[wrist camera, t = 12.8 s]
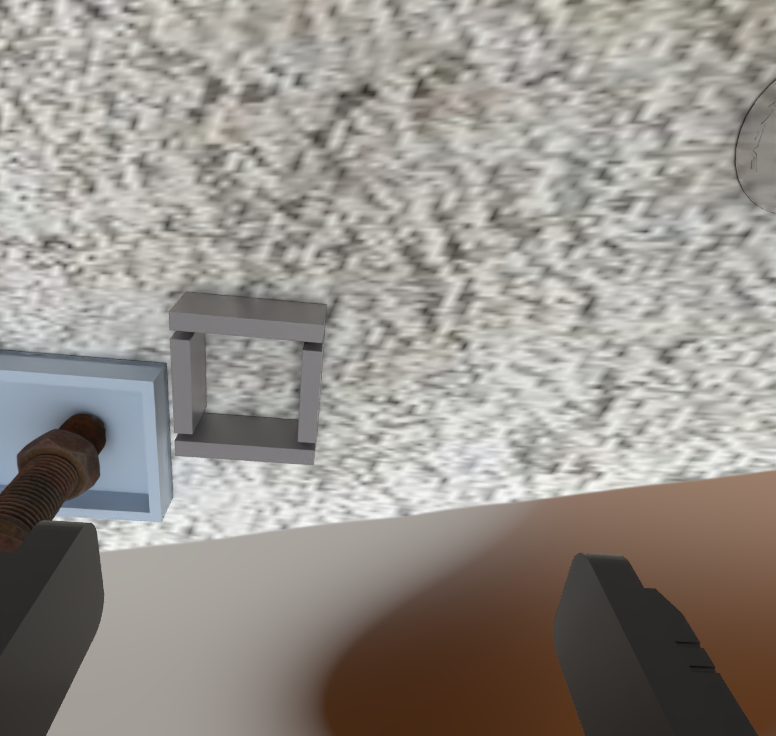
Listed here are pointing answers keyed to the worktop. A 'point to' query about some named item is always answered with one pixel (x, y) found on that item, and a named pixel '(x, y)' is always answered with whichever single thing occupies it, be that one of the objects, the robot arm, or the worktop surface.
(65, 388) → the parts tray
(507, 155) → the worktop surface
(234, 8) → the worktop surface
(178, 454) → the holder
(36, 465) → the bolt
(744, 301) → the worktop surface
